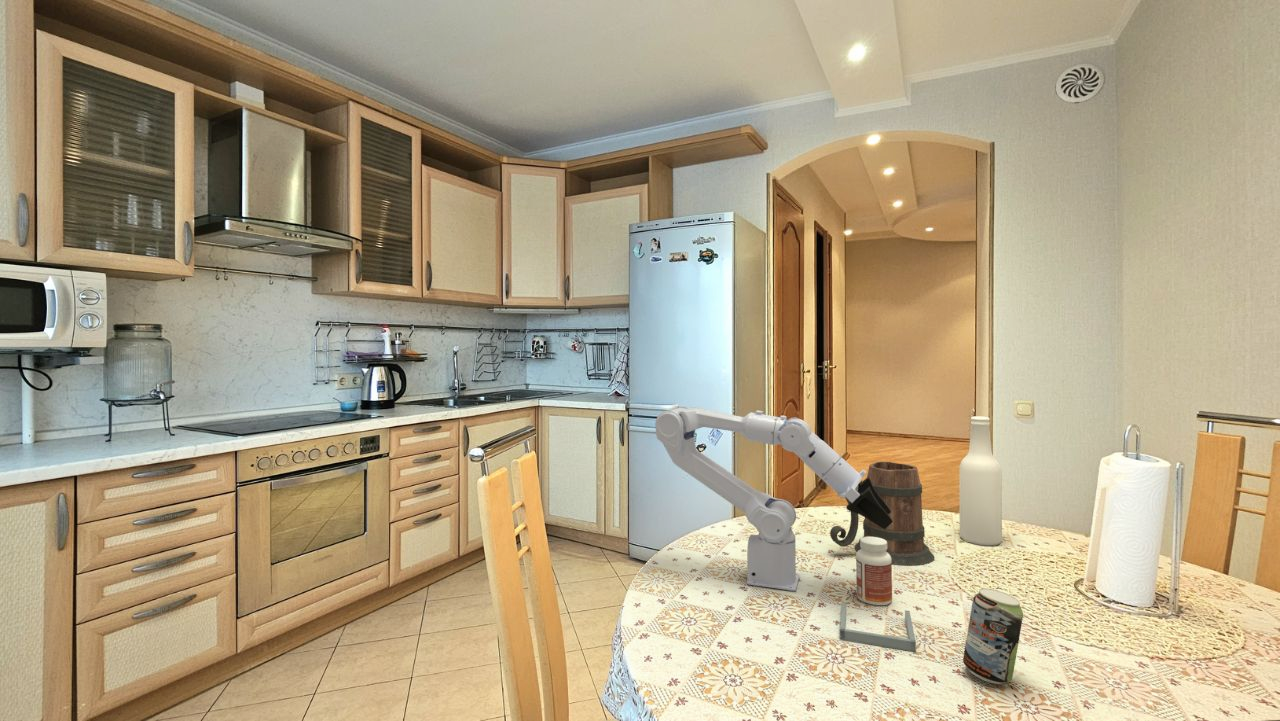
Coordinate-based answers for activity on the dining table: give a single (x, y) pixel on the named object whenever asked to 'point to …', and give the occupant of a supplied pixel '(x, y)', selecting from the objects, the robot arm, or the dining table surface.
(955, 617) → the dining table surface
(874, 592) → the pill bottle
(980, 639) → the beverage can
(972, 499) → the alcohol
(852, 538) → the tankard
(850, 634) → the bracket
